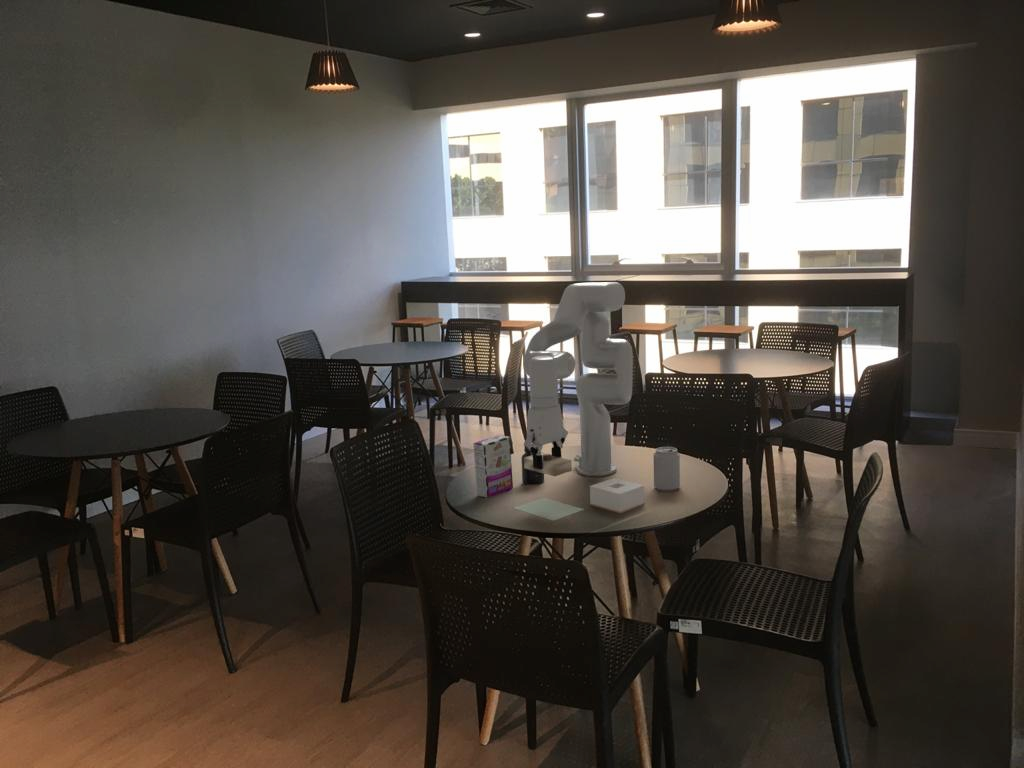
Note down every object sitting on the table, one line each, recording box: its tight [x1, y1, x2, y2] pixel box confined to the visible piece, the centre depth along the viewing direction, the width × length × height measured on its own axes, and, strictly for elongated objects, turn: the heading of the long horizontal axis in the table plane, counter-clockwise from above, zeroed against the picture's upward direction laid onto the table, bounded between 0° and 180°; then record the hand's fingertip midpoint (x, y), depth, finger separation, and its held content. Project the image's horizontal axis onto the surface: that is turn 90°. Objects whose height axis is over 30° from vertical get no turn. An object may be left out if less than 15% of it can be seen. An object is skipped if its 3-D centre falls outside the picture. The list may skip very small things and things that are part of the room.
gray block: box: [589, 477, 645, 514], centre depth 232 cm, size 11×10×6 cm
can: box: [653, 446, 681, 492], centre depth 246 cm, size 8×8×12 cm
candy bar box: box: [473, 434, 514, 499], centre depth 249 cm, size 11×5×16 cm, turn 137°
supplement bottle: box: [521, 443, 545, 486], centre depth 257 cm, size 7×7×12 cm
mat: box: [513, 497, 585, 522], centre depth 232 cm, size 16×12×1 cm
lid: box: [524, 452, 573, 478], centre depth 230 cm, size 12×6×4 cm, turn 42°
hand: (547, 464), depth 230 cm, fingers closed on lid, 6 cm apart
